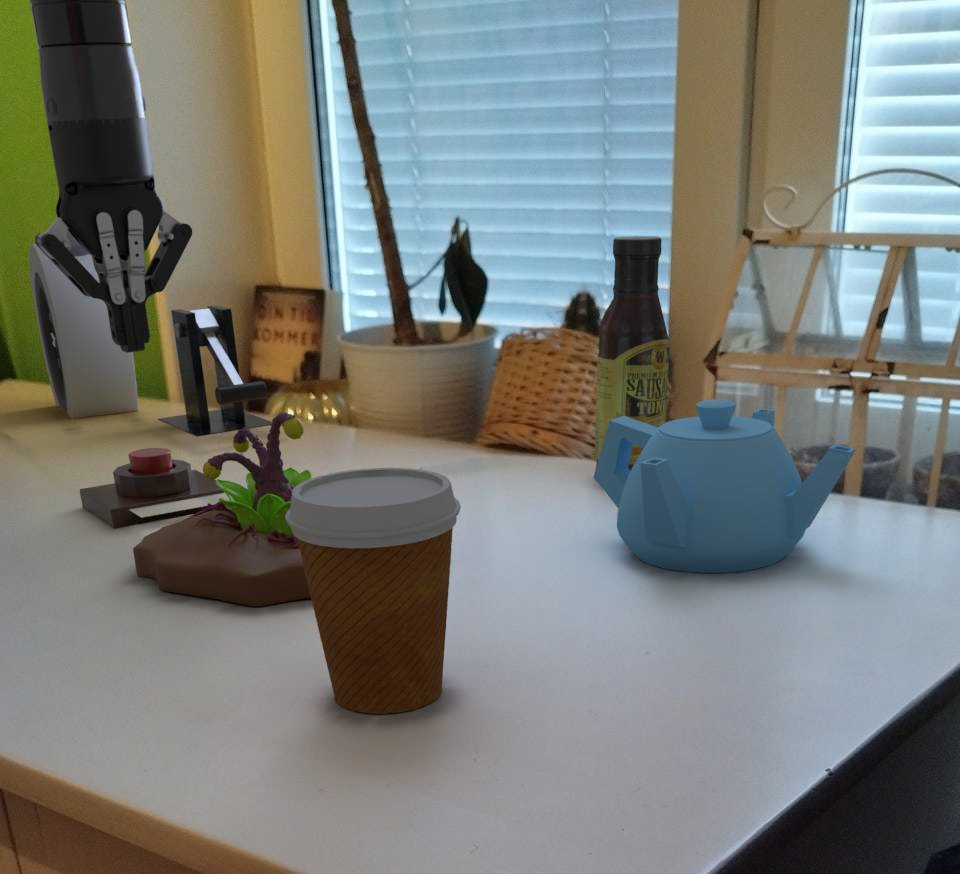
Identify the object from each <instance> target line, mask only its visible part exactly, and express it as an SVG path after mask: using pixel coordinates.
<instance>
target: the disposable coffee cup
mask: <svg viewBox="0 0 960 874" xmlns="http://www.w3.org/2000/svg"><path fill="white" fill-rule="evenodd" d="M452 486H453V485H452V482H451V481H450V479H449V478H448V477H447V476H445V475H443V474H442V473H439V472H435V471H430V470H427V469H421V468H409V467H370V468H357V469H350V470H349V469H348V470H342V471H336V472H332V473H327V474H322V475H319V476H314V477H311V479H309V480H306V481H304V482H302V483H300V484H298V485H297V486H296V487H295V488H294V489H293V490H292V497H291V506H290V509H289V510H288V511H287V513H286V516H285V517H286V521H287V523H288V524H289V525H290V527H291V528H292V532H293V534H294V536H295V537H297V540H298V544H299V548H300V553H301V557H302V562H303V566H304V569H305V575H306V578H307V583H308V587H309V591H310V596H311V603H312V608H313V611H314V612H313V613H314V616H315V621H316V625H317V629H318V633H319V637H320V640H321V647H322V650H323V654H324V658H325V663H326V667H327V671H328V675H329V679H330V683H331V687H332V692H333V697H334V700H335V702H336V703H337V704H338V705H340V706H341V707H343V708H346V709H347V710H350V711H353V712H354V711H355V712H359V713H365V714H379V715H380V714H384V715H385V714H393V713H395V714H396V713H403V712H407V711H411V710H416V709H419V708H421V707H424V706H426V705H429V704H430V703H432V702H434V701H435V700H437V699H438V698H439V697H440V695H441V694H442V691H443V677H444V661H445V660H444V659H445V647H446V632H447V620H448V605H449V604H448V602H449V589H450V575H451V563H452V562H451V561H452V545H453V529H454V527H455V526H456V523H457V519H458V517H457V516H459V514H460V511H461V507H462V505H461V503H460V501H459V499H457V498H456V497H455V495H454V490H453V487H452Z"/></svg>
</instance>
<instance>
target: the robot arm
mask: <svg viewBox="0 0 960 874" xmlns="http://www.w3.org/2000/svg"><path fill="white" fill-rule="evenodd" d="M29 3H30V11H31V16H32V22H33V27H34V34H35V41H36V45H37V48H38V49H37V52H38V61H39V63H38V64H39V80H40V88H41V95H42V101H43V106H44V113H45V118H46V124H47V130H48V135H49V140H50V141H49V142H50V147H51V153H52V157H53V158H52V160H53V164H54V170H55V171H54V172H55V176H56V182H57V187H58V198H57V199H58V200H57V203H56V206H55V214H56V217H57V218H55V220H54V221H53V222H52V223H51V224H50V225H49V226H48V228H46V229H45V231H43V232H38V233H36V235H35V237H34V242H35V243H36V245H37V246H38V247H39V248H40V250H41V251H42V252H43V253H44V254H45V255H46V256H47V257H48V258H49V259H50V260H51V261H52V262H53V263H54V264H55V265H56V266H57V267H58V268H59V270H60V271H61V272H62V273H63V274H64V275H65V276H66V277H67V278H68V279H69V280H70V281H71V282H72V283H73V284H74V285H75V286H76V287H77V288H78V290H79V291H80V292H81V293H82V294H83V295H85V296H89V297H92V298H95V299H101V300H102V301H104V302H105V304H106V306H107V310H108V317H109V323H110V329H111V335H112V339H113V341H114V343H115V344H117V345H119V346H120V347H121V350H122V351H124V352H127V353H129V352H133V353H137V352H145V351H146V346H145V345H146V344H149V343H150V339H151V338H150V337H151V334H150V327H149V319H148V313H147V307H146V304H147V303H146V302H147V300H148V299H149V297H151V296H153V295H155V294H157V293H161V292H163V291H165V288H166V286H167V285H168V283H169V281H170V279H171V277H172V275H173V273H174V271H175V270H176V267H177V266H178V263H179V261H180V259H181V258H182V256H183V253H184V252H185V250H186V248H187V246H188V244H189V242H190V240H191V239H192V237H193V228H192V227H191V225H189V224H188V223H183V222H180V221H179V220H177V219H176V218H174V217H173V216H172V215H170V213H168V212H166V211H165V205H164V201H163V199H162V198H161V196H160V195H159V193H158V191H157V188H156V183H155V174H154V165H153V159H152V152H151V151H152V150H151V144H150V138H149V130H148V124H147V123H148V122H147V115H146V111H147V106H146V105H147V104H146V99H145V97H144V94H143V88H142V81H141V76H140V72H139V69H138V66H137V61H136V57H135V52H134V47H133V41H132V40H133V39H132V34H131V33H132V32H131V27H130V26H131V25H130V19H129V12H128V11H129V10H128V5H127V0H29ZM157 229H158V231H157ZM156 231H157V239H158V241H159V242H160V243H159V245H158V246H157V249H156V251H155V253H154V255H153V256H152V259H151V260H150V262H149V264H148V265H147V268H146V256H145V252H146V251H147V250H148V248H149V246H150V244H151V241H152V240H153V237H154V236H155V234H156ZM67 232H70V234H71V235H72V236H73V237H74V238H75V239H76V241H77V242H78V243H79V244H80V245H81V246H82V247H83V249H84V250H85V251H86V252H87V253H88V254H90V255H91V256H92V260H93V264H94V268H95V271H96V272H97V274H98V278H99V282H100V283H99V282H98V281H97V280H96V279H95V278H94V277H93V276H92V275H91V274H90V273H89V272H88V271H87V270H86V269H85V267H84V266H83V265H82V264H81V263H80V262H79V261H78V260H77V259H76V258H75V257H74V256H73V255H72V254H71V252H70V250H71V248H72V243H71V240H70V239H69V237H68V234H67Z"/></svg>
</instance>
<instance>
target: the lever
mask: <svg viewBox="0 0 960 874" xmlns="http://www.w3.org/2000/svg"><path fill="white" fill-rule="evenodd" d="M189 312H193V313H195V317H196V324H197V332H198V339H199V346H200V348H202V347H206V348H207V350H208V351H209V353H210V355H211V357H212V358H213V361H214V360H215V362H216V364H217V365H218V367H219V369H220V371H221V372H222V374H223V376H224V378H225V379H226V381H227V383H228V385H229V386H223V387H218V386H217V387H215V389H214V397H215V400H216V403H217V404H218V405H219V406H220V405H222V404H229V403H235V402H242V401H243V402H248V401H254V400H262V399H266V398H267V396H268V393H267V392H268V391H267V387H266V384H265V382H264V381H262V380H261V381H253V382H245V383H244V382H243V381H242V379H241V377H239V376H240V374H239V375H238V373H237V372H236V370H235V368H234V366H233V365H232V363H231V361H230V359H229V358H228V356H227V354H226V353H225V351H224V349H223V347H222V346H221V344H220V342H219V340H218V334H219V325H218V323H217V321H216V319H215V318H214V316H213V314H212V313H211V311H210V309H207V308H201V309H192V310H191V309H190V310H189ZM215 362H214V363H215Z"/></svg>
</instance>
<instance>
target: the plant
mask: <svg viewBox="0 0 960 874" xmlns="http://www.w3.org/2000/svg"><path fill="white" fill-rule="evenodd" d="M271 422H273V423H272V424H271V425H270V428H269V433H268V434H267V436H266V439H267V442H265V443H266V444H265V445H264V442H263V441H262V439H260V438H259V436H258V435H256V433H255V432H252V431H251V428H249V429H247V428H246V429H245V428H243V429H241V430H237V432H236V433H235V434H234V436H233V440H232V446H233V448H234V450H235V451H236V452H224V453H221V454H217V455H213V456H212V457H210V458H208V459H207V461H205V462H204V463H203V466H202V473H203V474H204V475H205V479H212V480H213V479H215V480H216V485H217V486H218V487H219V488H221V489H222V490H223V491H224V494H225V495H226V496H227V498H228V499H229V500H228V499H225V498H224V497H219V498H218V501H217V502H216V503H215V506H212V505H213V504H212V503H211V502H208V503H207V505H206V506H207V508H206V509H204V508H202V507H203V506H198V507H199V508H202V509H204V510H203V511H200V512H199V511H198V513H196V514H193V515H189V516H188V517H186V518H184V519H182V520H179V521H177V522H175V523H171V524H168V525H165V526H163V527H161V528H160V529H158V530H156V531H153V532H151V533H149V534H147V535H146V536H144V537H143V538H142V540H141V541H140V542H139V543H138V544H136V545H135V546H133V548H132V551H133V552H132V553H133V559H134V565H135V570H136V571H135V572H136V575H137V576H138V577H141V578H150V579H153V580H157V584H158V587H159V589H160V590H162V591H164V592H169V593H175V594H182V595H187V596H188V595H189V596H193V597H200V598H201V597H202V598H206V599H213V600H218V601H224V602H228V603H233V604H238V605H243V606H249V607H255V608H256V607H264V606H270V605H276V604H280V603H285V602H291V601H297V600H298V601H299V600H308V599H309V600H310V599H311V596H310V591H309V587H308V583H307V578H306V575H305V569H304V566H303V562H302V557H301V553H300V548H299V544H298V540H297V537H295V536H294V534H293V532H292V528H291V527H290V525H289V524H288V523H287V521H286V517H285V516H286V513H287V511H288V510H289V509H290V506H291V497H292V490H293V489H294V488H295V487H296V486H297V485H298V484H300V483H302V482H304V481H306V480H309V479H312V472H311V471H310V469H306V470H303V471H301V472H299V471H298V470H297V469H296V468H294V467H291V466H289V467H288V468H286V469H284V468H283V467H284V462H283V459H282V458H281V457H282V451H281V450H280V443H281V441H280V440H281V439H280V434H281V427H283V428H282V430H283V432H284V434H285V435H286V437H288V438H289V439H291V440H300V439H301V437H302V436H303V435H304V433H305V429H304V424H303V423H302V421H301V420H300V419H299V418H298V417H297V416H296V414H295V415H294V414H292V413H288V412H286V411H285V412H280V413H278V414H277V415H276V416H275V417H273V418H272V421H271ZM250 443H251V447H252V449H254V450H255V453H256V455H257V458H258V461H259V464H257V463H255V462H254V461H252V459H251V458H249V457H247V456H245V455H244V453H246V452H248V450H249V448H250ZM229 461H230V462H231V461H232V462H236V463H238V464H240V465H241V466H242V467H244V468H245V469H246V470H247V471H248V473H247V474H246V475H245V482H246V486H247V488H246V487H245V486H243V485H241V484H239V483H238V482H234V481H230V480H222V479H219V477H220V476H221V474H222V471H223V465H224V463H226V462H229ZM209 505H210V506H209ZM311 600H312V599H311Z"/></svg>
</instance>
